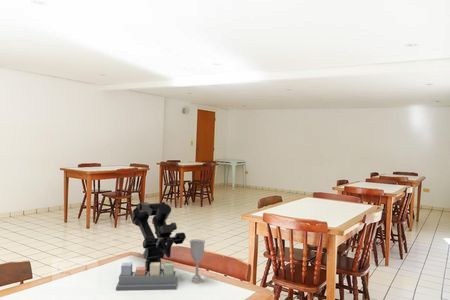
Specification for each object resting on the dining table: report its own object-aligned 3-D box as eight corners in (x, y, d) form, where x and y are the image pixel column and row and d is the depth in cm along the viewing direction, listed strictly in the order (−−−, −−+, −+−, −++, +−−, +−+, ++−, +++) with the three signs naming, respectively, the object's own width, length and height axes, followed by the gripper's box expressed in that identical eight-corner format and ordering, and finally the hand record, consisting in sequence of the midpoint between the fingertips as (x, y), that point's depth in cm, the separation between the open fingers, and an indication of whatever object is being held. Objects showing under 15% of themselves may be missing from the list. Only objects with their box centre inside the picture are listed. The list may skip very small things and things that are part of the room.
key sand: (160, 274, 162) (160, 262, 162) (159, 278, 158) (159, 265, 158) (150, 274, 162) (150, 262, 161) (149, 278, 158) (149, 265, 157)
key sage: (173, 274, 162) (173, 262, 162) (173, 277, 158) (173, 265, 158) (164, 274, 162) (164, 262, 162) (163, 277, 158) (164, 265, 158)
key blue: (132, 275, 161) (132, 262, 161) (130, 278, 157) (130, 265, 157) (122, 275, 161) (123, 262, 160) (121, 278, 157) (121, 265, 156)
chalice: (207, 279, 167) (208, 240, 166) (200, 285, 161) (201, 244, 160) (193, 277, 170) (194, 238, 169) (185, 282, 164) (186, 241, 163)
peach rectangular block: (146, 279, 161) (146, 266, 161) (144, 282, 157) (145, 269, 157) (136, 279, 161) (137, 266, 161) (135, 282, 157) (135, 269, 157)
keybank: (177, 280, 166) (177, 269, 166) (176, 289, 156) (176, 277, 156) (120, 281, 163) (120, 270, 163) (115, 290, 154) (116, 278, 153)
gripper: (144, 218, 160) (153, 250, 150) (184, 214, 169) (194, 244, 160) (139, 232, 167) (146, 264, 157) (177, 228, 176) (186, 257, 167)
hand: (169, 257), depth 160 cm, fingers closed
